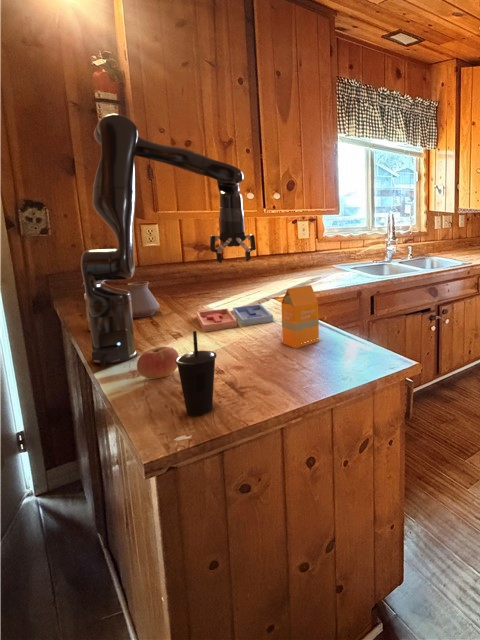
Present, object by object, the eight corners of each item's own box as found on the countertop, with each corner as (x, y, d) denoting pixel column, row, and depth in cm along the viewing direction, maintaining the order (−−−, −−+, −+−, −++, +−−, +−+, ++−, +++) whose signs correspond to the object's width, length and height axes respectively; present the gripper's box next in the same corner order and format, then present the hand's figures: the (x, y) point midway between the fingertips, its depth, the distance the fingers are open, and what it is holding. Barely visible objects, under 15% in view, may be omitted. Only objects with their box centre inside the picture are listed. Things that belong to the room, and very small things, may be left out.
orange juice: (319, 341, 145) (318, 286, 142) (295, 348, 137) (293, 291, 134) (306, 336, 148) (304, 283, 145) (282, 343, 141) (280, 287, 138)
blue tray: (272, 321, 162) (272, 315, 162) (242, 325, 155) (242, 319, 155) (261, 309, 176) (260, 304, 176) (233, 313, 169) (232, 307, 169)
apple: (182, 376, 114) (181, 349, 112) (140, 386, 107) (137, 357, 106) (176, 366, 119) (174, 340, 118) (135, 375, 113) (133, 348, 112)
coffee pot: (159, 308, 170) (156, 273, 167) (161, 315, 161) (158, 279, 159) (85, 317, 155) (81, 279, 153) (83, 325, 147) (79, 285, 145)
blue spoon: (241, 313, 169) (241, 308, 168) (255, 311, 172) (255, 307, 172) (249, 321, 159) (248, 317, 159) (263, 319, 163) (263, 315, 162)
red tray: (237, 326, 154) (236, 320, 154) (203, 331, 147) (203, 325, 147) (227, 314, 168) (227, 308, 168) (196, 318, 161) (196, 312, 161)
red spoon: (227, 324, 155) (226, 319, 154) (210, 326, 151) (210, 322, 151) (220, 315, 164) (220, 311, 164) (205, 317, 161) (205, 313, 161)
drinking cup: (226, 403, 101) (222, 326, 98) (204, 420, 94) (199, 337, 91) (195, 402, 101) (190, 325, 98) (170, 419, 93) (164, 336, 90)
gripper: (210, 220, 145) (212, 265, 148) (256, 220, 155) (257, 262, 157) (207, 218, 151) (209, 261, 153) (251, 218, 160) (253, 259, 163)
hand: (234, 262), depth 155 cm, fingers open, 8 cm apart
